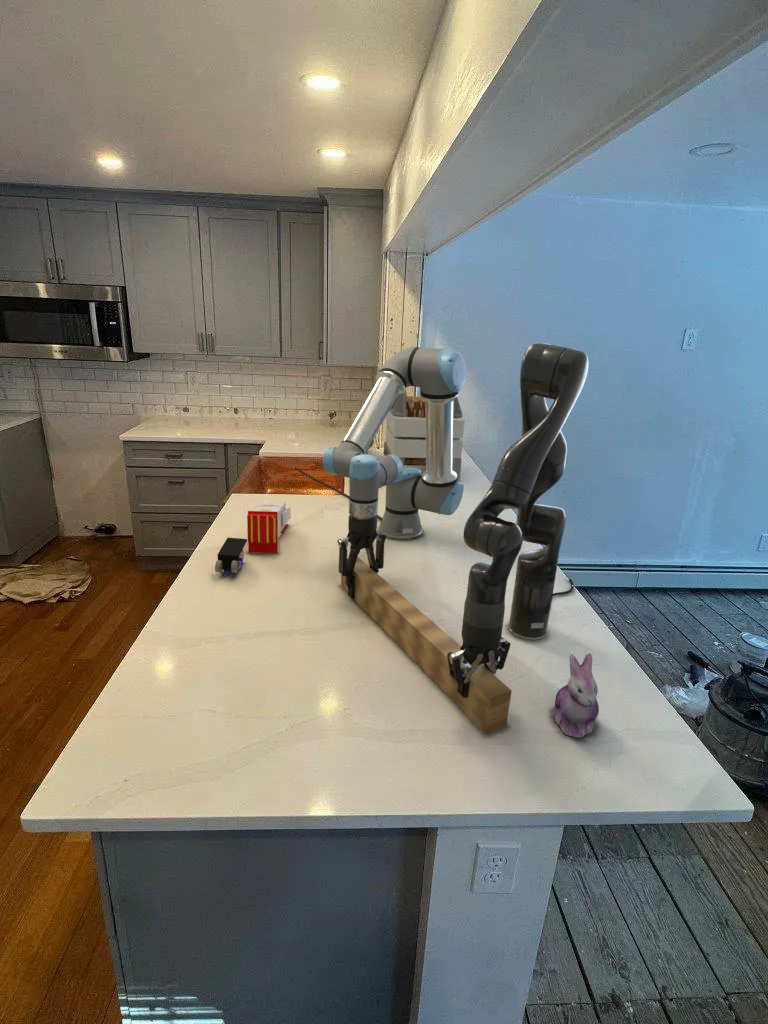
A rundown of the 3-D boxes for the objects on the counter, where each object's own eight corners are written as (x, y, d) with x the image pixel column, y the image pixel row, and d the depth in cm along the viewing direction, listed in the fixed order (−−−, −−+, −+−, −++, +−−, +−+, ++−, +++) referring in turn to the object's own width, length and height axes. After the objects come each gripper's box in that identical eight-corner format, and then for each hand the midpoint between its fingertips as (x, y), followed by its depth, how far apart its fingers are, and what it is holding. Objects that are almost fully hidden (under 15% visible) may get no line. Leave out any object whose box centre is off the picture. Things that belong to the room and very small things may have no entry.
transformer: (382, 463, 289) (386, 382, 275) (445, 464, 293) (451, 384, 279) (390, 482, 257) (394, 392, 243) (460, 483, 261) (468, 394, 247)
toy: (293, 496, 204) (280, 513, 174) (293, 532, 206) (280, 555, 177) (259, 495, 203) (240, 512, 174) (259, 531, 206) (241, 554, 177)
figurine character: (238, 584, 162) (249, 557, 175) (236, 562, 158) (247, 536, 172) (215, 584, 161) (227, 556, 175) (212, 561, 158) (225, 535, 171)
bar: (340, 586, 161) (341, 559, 158) (356, 583, 163) (357, 556, 160) (486, 734, 107) (490, 697, 104) (506, 726, 109) (511, 690, 106)
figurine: (577, 747, 104) (590, 678, 99) (539, 713, 113) (549, 648, 108) (613, 732, 109) (628, 665, 104) (573, 700, 117) (585, 637, 112)
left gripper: (337, 524, 140) (335, 607, 148) (400, 515, 149) (395, 594, 157) (325, 514, 147) (324, 594, 154) (386, 506, 155) (382, 582, 163)
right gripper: (464, 635, 101) (456, 713, 106) (525, 618, 107) (515, 692, 113) (440, 615, 107) (434, 690, 113) (500, 600, 113) (491, 672, 119)
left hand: (360, 594), depth 156 cm, fingers closed on bar, 5 cm apart
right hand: (474, 691), depth 113 cm, fingers closed on bar, 5 cm apart
